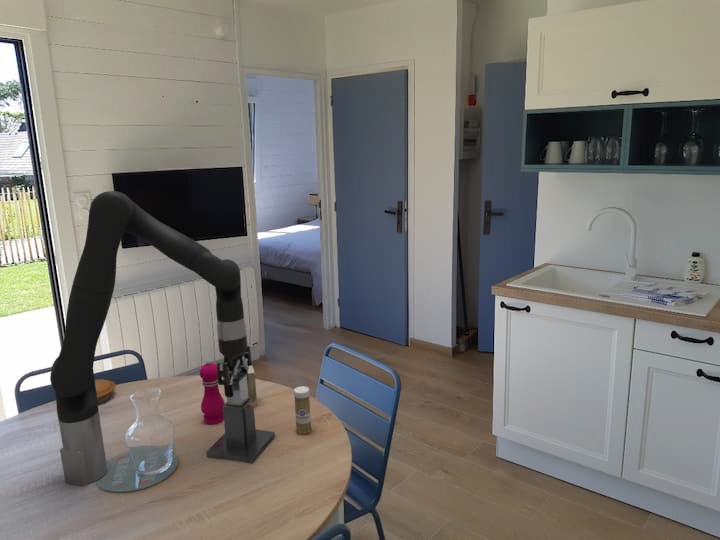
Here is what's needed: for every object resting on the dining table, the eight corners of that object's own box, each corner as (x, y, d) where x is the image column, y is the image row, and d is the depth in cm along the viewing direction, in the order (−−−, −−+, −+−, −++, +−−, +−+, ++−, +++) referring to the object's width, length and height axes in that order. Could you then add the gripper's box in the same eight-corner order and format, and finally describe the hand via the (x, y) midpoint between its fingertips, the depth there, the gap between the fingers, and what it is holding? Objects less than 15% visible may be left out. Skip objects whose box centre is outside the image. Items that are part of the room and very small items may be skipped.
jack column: (244, 446, 151) (239, 379, 146) (230, 444, 152) (224, 378, 147) (252, 438, 155) (246, 373, 150) (238, 436, 156) (232, 371, 151)
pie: (126, 392, 191) (125, 378, 190) (93, 412, 176) (91, 398, 175) (91, 387, 195) (89, 374, 194) (56, 406, 181) (53, 393, 180)
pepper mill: (212, 427, 164) (206, 366, 160) (197, 420, 169) (191, 360, 164) (231, 417, 170) (225, 358, 165) (216, 411, 174) (210, 353, 170)
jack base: (252, 463, 145) (249, 417, 142) (206, 456, 149) (202, 411, 146) (275, 436, 158) (272, 393, 155) (232, 430, 162) (228, 389, 159)
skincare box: (242, 400, 181) (239, 366, 178) (255, 398, 182) (252, 364, 180) (244, 409, 175) (241, 374, 172) (257, 407, 176) (254, 372, 174)
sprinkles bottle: (297, 436, 158) (295, 393, 155) (294, 428, 162) (292, 387, 159) (313, 433, 159) (310, 391, 156) (309, 425, 164) (307, 384, 161)
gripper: (232, 324, 154) (237, 377, 157) (205, 342, 140) (211, 400, 144) (256, 326, 152) (261, 380, 155) (231, 344, 138) (236, 403, 142)
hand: (237, 389), depth 150 cm, fingers open, 8 cm apart
